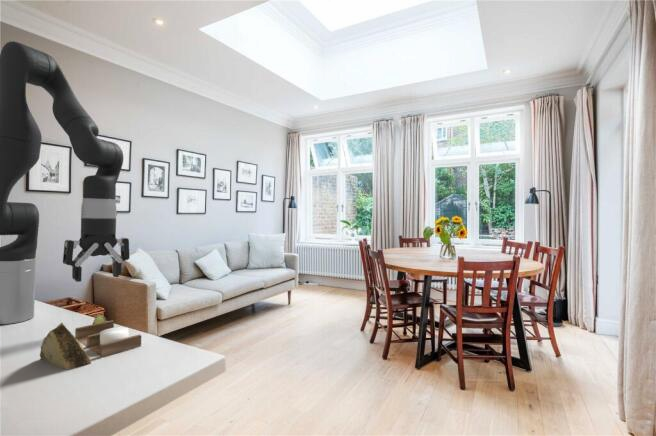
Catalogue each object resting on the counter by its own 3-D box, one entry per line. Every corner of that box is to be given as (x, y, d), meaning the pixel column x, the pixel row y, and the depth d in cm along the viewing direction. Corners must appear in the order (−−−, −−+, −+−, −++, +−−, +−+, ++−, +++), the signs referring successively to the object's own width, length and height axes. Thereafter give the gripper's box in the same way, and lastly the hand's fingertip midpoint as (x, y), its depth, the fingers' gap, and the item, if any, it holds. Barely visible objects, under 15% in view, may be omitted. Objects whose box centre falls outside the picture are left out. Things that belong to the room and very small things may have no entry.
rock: (22, 354, 69) (21, 365, 61) (55, 316, 73) (58, 322, 65) (74, 374, 74) (79, 387, 66) (103, 338, 78) (110, 346, 70)
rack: (75, 342, 81) (75, 328, 81) (111, 333, 87) (112, 320, 87) (102, 361, 71) (102, 345, 71) (140, 350, 78) (141, 335, 78)
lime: (91, 338, 84) (92, 318, 84) (81, 334, 86) (82, 314, 86) (110, 332, 88) (110, 314, 88) (100, 329, 90) (101, 310, 90)
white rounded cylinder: (95, 346, 77) (95, 331, 76) (121, 339, 81) (122, 325, 81) (105, 353, 73) (106, 337, 73) (132, 345, 78) (133, 330, 78)
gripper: (122, 216, 94) (121, 273, 95) (60, 215, 83) (58, 280, 83) (134, 217, 90) (133, 277, 90) (70, 216, 79) (69, 285, 79)
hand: (97, 278), depth 87 cm, fingers open, 8 cm apart
